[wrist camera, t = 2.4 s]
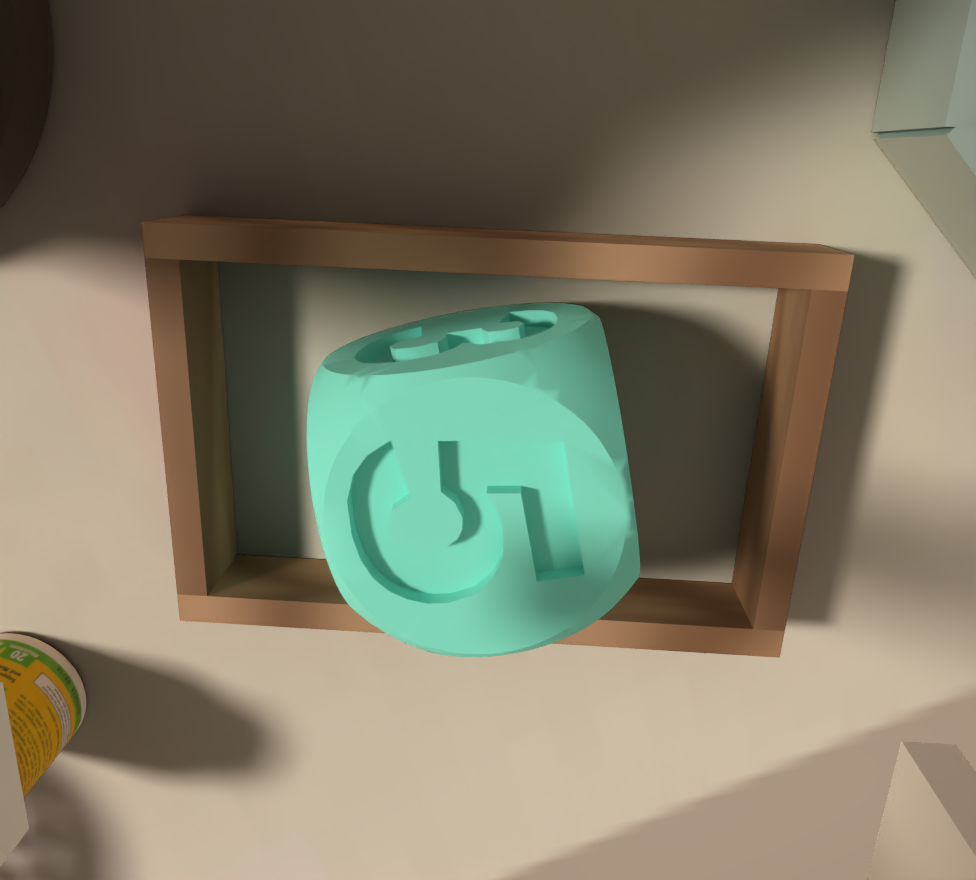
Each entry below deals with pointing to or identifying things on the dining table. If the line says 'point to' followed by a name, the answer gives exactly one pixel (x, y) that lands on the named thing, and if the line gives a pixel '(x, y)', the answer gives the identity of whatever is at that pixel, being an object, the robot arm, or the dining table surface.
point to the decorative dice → (475, 478)
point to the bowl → (933, 112)
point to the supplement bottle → (39, 702)
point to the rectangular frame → (208, 239)
